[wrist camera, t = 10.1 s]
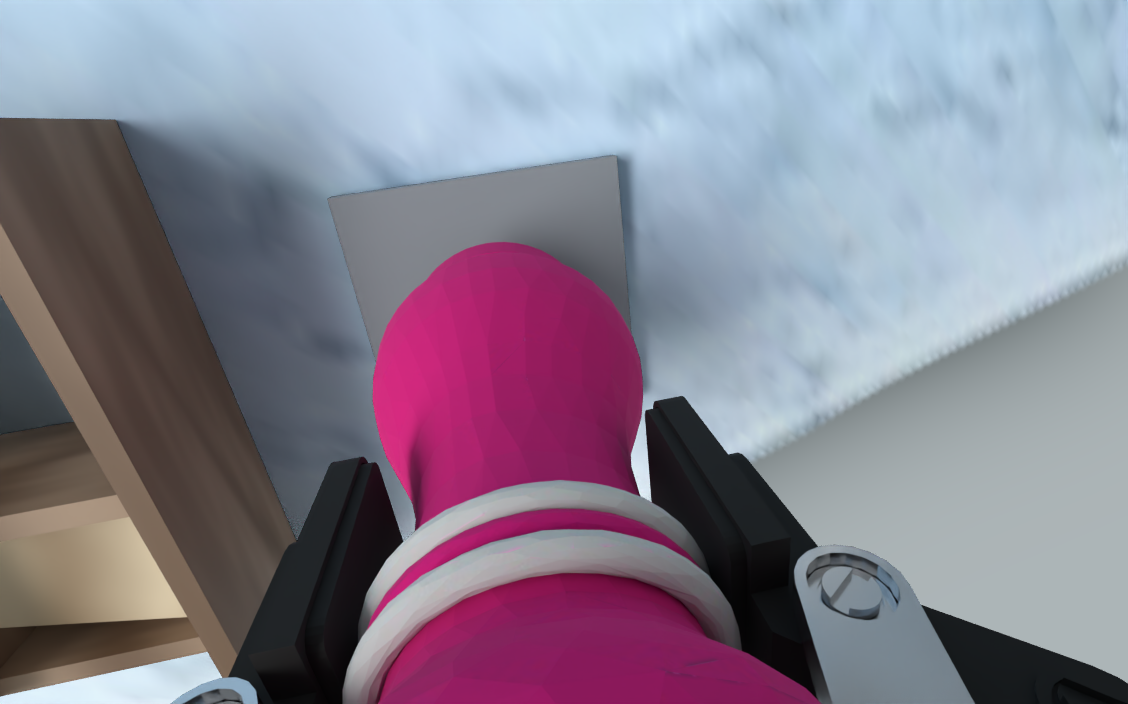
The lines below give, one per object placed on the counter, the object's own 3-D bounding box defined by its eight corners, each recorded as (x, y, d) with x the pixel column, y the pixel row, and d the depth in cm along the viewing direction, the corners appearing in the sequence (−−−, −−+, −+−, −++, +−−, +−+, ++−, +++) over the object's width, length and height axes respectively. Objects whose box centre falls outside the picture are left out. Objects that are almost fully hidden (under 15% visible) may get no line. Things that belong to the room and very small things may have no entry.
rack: (115, 119, 17) (-58, 116, 11) (304, 560, 24) (254, 687, 19) (-261, 169, 16) (-647, 192, 10) (55, 611, 23) (-74, 760, 18)
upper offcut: (202, 476, 20) (178, 506, 19) (223, 580, 22) (204, 616, 21) (-11, 479, 19) (-57, 512, 18) (30, 589, 21) (-7, 628, 20)
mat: (612, 154, 19) (616, 155, 19) (633, 396, 23) (637, 402, 23) (331, 196, 19) (327, 198, 18) (403, 439, 23) (401, 447, 22)
